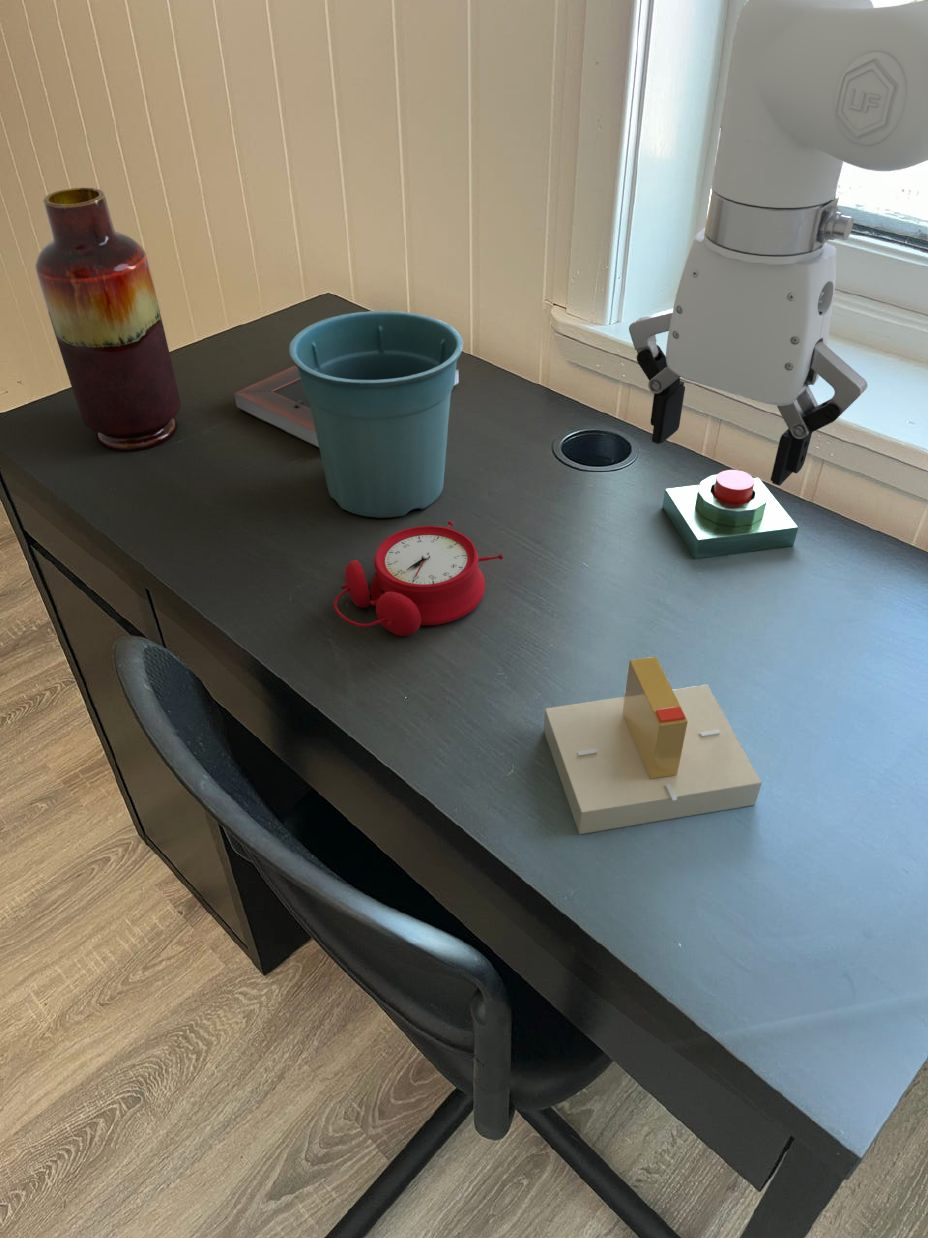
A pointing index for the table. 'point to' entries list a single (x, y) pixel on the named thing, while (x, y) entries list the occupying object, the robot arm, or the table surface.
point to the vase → (107, 323)
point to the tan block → (654, 717)
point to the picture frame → (283, 403)
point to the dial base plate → (617, 778)
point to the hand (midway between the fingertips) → (722, 455)
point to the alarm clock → (419, 579)
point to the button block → (728, 520)
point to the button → (733, 487)
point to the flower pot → (380, 406)
